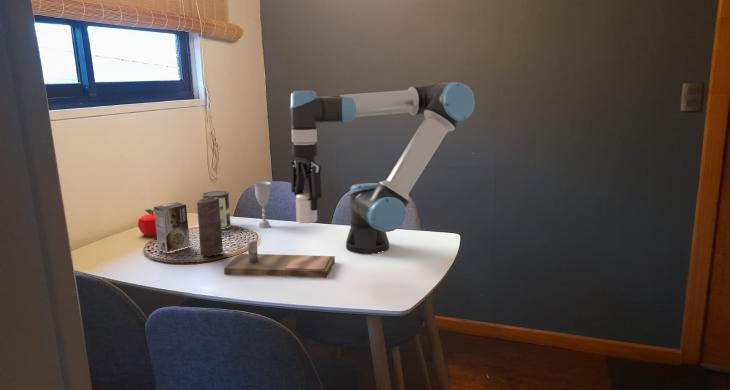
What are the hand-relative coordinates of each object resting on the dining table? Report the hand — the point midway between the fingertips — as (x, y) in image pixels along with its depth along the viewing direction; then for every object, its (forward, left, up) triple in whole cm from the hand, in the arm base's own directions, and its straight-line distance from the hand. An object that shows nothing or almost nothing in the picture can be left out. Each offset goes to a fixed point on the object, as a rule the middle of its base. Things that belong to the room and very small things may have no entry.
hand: (306, 217), depth 163 cm
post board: (+9, 0, -17) cm, 19 cm away
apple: (+69, -33, -17) cm, 78 cm away
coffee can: (+48, -45, -17) cm, 68 cm away
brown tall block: (+36, -10, -17) cm, 41 cm away
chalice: (+29, -47, -17) cm, 58 cm away
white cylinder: (0, 0, -1) cm, 1 cm away
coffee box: (+52, -15, -17) cm, 57 cm away
